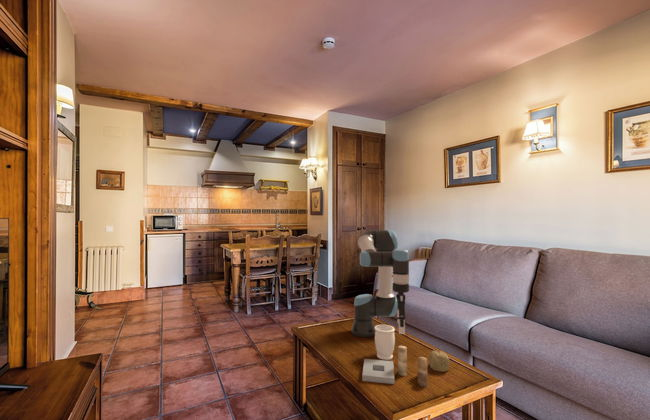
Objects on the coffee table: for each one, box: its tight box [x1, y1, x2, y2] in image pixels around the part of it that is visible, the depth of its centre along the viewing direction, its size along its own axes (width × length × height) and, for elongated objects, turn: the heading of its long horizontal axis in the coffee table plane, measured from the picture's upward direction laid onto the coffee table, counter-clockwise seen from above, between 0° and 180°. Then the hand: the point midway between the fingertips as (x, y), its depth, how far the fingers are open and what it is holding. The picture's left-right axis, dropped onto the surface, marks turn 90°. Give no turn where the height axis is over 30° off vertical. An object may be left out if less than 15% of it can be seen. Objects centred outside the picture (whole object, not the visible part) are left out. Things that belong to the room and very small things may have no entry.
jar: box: [374, 324, 396, 361], centre depth 160 cm, size 11×10×15 cm
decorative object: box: [428, 350, 450, 373], centre depth 148 cm, size 9×10×10 cm
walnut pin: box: [417, 370, 428, 388], centre depth 133 cm, size 4×4×5 cm
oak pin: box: [417, 356, 428, 373], centre depth 140 cm, size 4×4×8 cm
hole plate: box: [361, 358, 395, 385], centre depth 142 cm, size 16×14×2 cm
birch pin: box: [397, 345, 408, 377], centre depth 142 cm, size 4×4×12 cm
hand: (401, 328), depth 143 cm, fingers open, 13 cm apart
